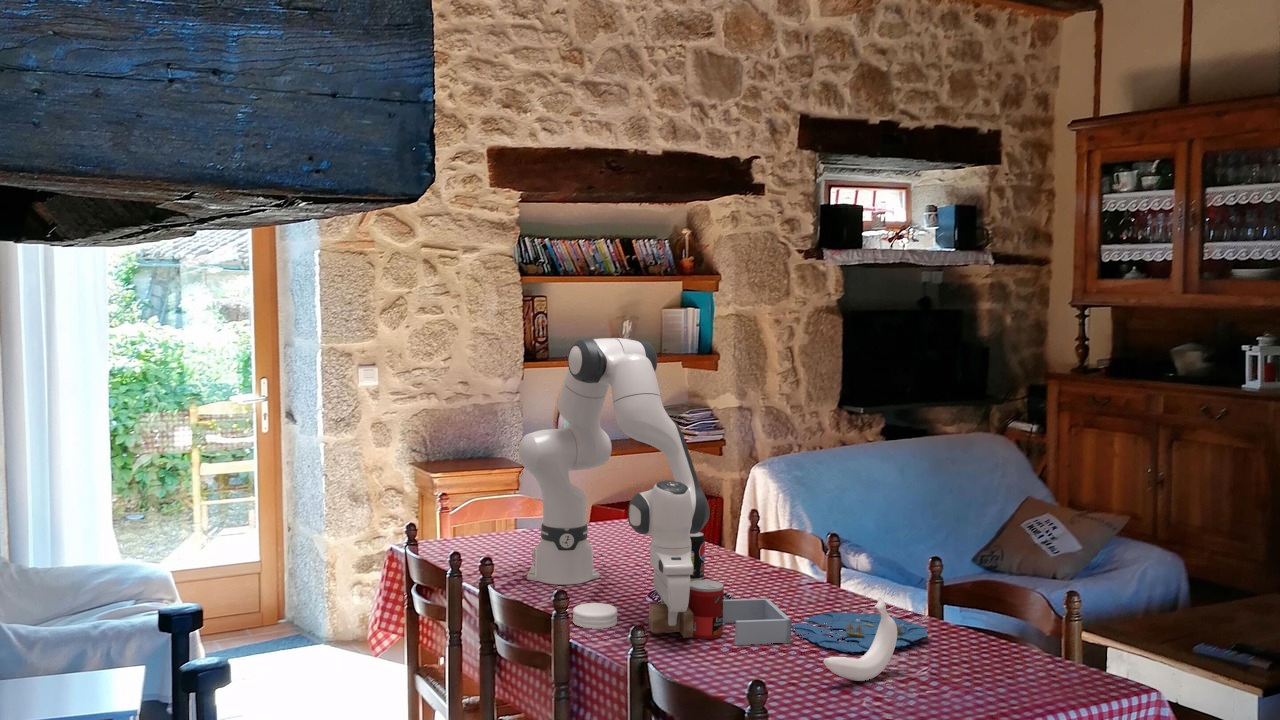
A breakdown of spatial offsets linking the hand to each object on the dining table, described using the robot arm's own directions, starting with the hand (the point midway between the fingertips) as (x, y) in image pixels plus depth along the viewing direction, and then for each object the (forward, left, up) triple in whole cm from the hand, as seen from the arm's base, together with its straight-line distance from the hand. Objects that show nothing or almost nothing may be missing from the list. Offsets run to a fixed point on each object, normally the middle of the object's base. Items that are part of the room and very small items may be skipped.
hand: (669, 621), depth 232 cm
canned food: (0, +8, -3) cm, 9 cm away
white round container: (-11, -15, -4) cm, 19 cm away
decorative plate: (+4, +42, -4) cm, 42 cm away
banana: (+31, +32, -3) cm, 44 cm away
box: (0, +19, -3) cm, 19 cm away
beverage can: (-46, +16, -3) cm, 49 cm away
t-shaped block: (0, -1, -2) cm, 2 cm away
